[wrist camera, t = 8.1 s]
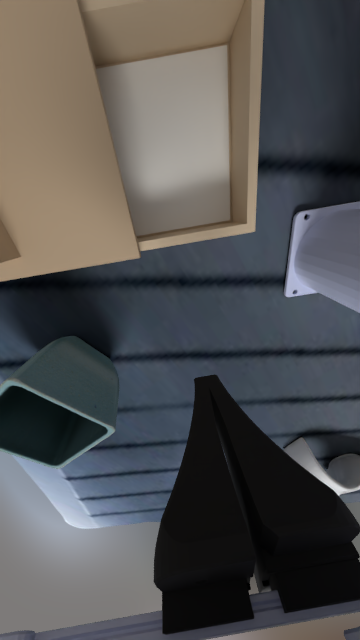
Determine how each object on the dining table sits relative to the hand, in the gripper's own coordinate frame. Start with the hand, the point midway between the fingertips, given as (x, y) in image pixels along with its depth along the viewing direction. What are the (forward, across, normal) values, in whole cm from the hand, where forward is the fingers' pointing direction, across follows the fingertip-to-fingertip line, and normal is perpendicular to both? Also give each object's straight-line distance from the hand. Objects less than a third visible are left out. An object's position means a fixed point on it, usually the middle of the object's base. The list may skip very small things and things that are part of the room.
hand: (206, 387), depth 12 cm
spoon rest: (+11, -25, +39) cm, 47 cm away
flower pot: (+11, +14, +4) cm, 18 cm away
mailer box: (+10, +2, -13) cm, 17 cm away
